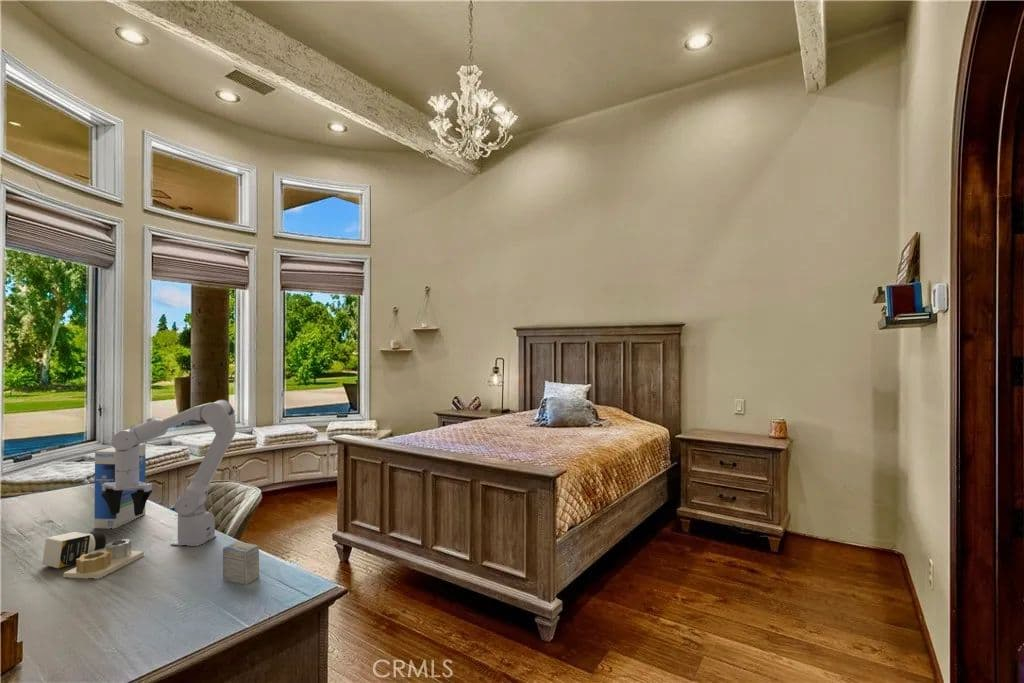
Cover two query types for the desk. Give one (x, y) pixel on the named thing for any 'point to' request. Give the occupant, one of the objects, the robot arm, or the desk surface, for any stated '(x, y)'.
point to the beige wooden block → (240, 562)
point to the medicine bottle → (71, 547)
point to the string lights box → (105, 475)
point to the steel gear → (119, 549)
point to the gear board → (100, 563)
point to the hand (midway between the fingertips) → (127, 514)
